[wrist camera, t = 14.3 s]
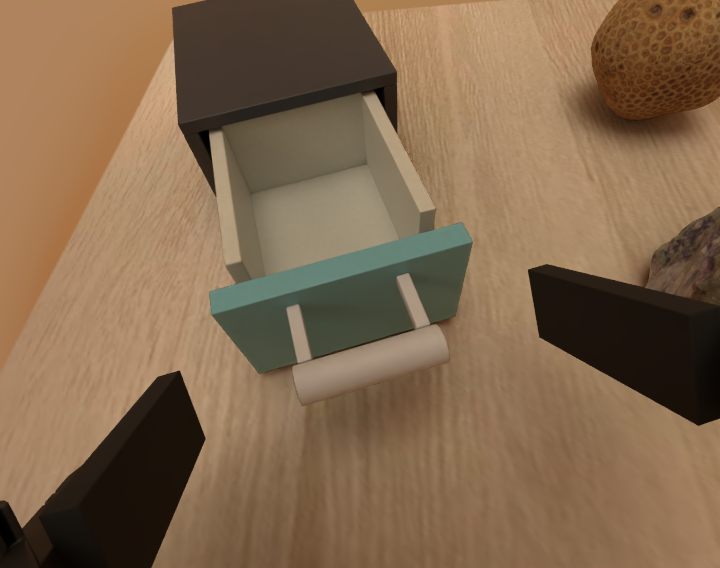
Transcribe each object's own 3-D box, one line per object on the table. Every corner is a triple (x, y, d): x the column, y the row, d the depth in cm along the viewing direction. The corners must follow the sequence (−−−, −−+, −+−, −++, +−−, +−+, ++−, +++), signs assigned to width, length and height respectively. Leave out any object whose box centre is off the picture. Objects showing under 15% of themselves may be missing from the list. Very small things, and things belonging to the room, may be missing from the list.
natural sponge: (560, 78, 36) (609, -65, 28) (672, 77, 35) (757, -73, 26) (578, 148, 31) (643, 0, 23) (708, 148, 30) (827, -7, 22)
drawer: (488, 387, 21) (521, 327, 15) (270, 454, 20) (219, 417, 14) (384, 163, 31) (380, 75, 25) (233, 202, 30) (193, 121, 24)
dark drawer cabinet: (398, 183, 31) (397, 71, 24) (231, 227, 30) (177, 124, 23) (348, 79, 39) (336, -29, 31) (215, 111, 38) (171, 7, 30)
